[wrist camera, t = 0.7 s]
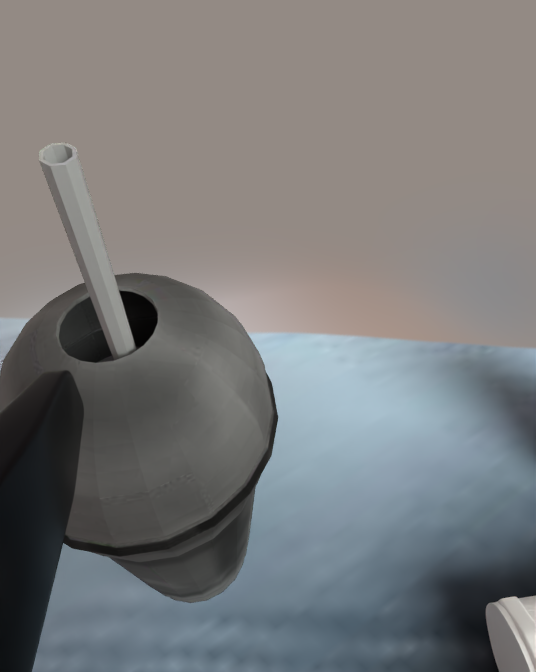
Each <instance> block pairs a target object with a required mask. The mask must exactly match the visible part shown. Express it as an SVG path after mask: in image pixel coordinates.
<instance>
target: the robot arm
mask: <svg viewBox="0 0 536 672" xmlns="http://www.w3.org/2000/svg"><path fill="white" fill-rule="evenodd" d="M83 420H84V405H83V401H82V398H81V396H80V393H79V391H78V388H77V385H76V383H75V380H74V377H73V375H72V374H71V372H70V371H68V370H56V371H46V372H44V373H42V374H41V375H40V376H39V377H38V378H37V379H36V380H34V381H33V382H32V383H31V384H30V385H29V386H28V387H27V388H26V389H25V390H24V391H23V392H22V393H20V394H19V395H18V396H17V397H16V398H15V399H14V400H13V401H12V402H11V403H10V404H9V405H8V406H6V407H5V408H4V409H3V410H2V411H1V412H0V672H32V669H33V665H34V661H35V657H36V652H37V648H38V644H39V640H40V636H41V632H42V628H43V624H44V619H45V615H46V611H47V607H48V603H49V599H50V595H51V591H52V586H53V582H54V578H55V574H56V570H57V566H58V562H59V557H60V553H61V549H62V545H63V541H64V537H65V533H66V529H67V524H68V520H69V516H70V512H71V508H72V503H73V498H74V493H75V486H76V479H77V470H78V462H79V453H80V445H81V437H82V428H83Z"/></svg>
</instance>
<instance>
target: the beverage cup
mask: <svg viewBox="0 0 536 672" xmlns="http://www.w3.org/2000/svg"><path fill="white" fill-rule="evenodd" d="M39 161H40V164H41V167H42V169H43V172H44V175H45V177H46V180H47V182H48V185H49V188H50V191H51V193H52V196H53V199H54V201H55V204H56V207H57V209H58V212H59V214H60V217H61V220H62V223H63V225H64V228H65V231H66V233H67V236H68V239H69V241H70V244H71V247H72V249H73V252H74V255H75V257H76V260H77V263H78V265H79V268H80V271H81V273H82V276H83V279H84V281H85V283H83V284H79V285H77V286H75V287H74V288H72V289H70V290H68V291H67V292H65V293H63V294H62V295H60V296H58V297H56V298H55V299H53V300H52V301H50V302H49V303H47V305H45V306H44V307H43V308H42V309H41V310H40V311H39V312H38V313H37V314H36V315H35V316H34V317H33V318H31V319H30V320H29V321H28V322H27V323H26V325H25V326H24V328H23V329H22V331H21V333H20V334H19V336H18V338H17V339H16V341H15V342H14V344H13V346H12V347H11V349H10V351H9V352H8V354H7V356H6V357H5V359H4V360H3V365H2V369H1V373H0V412H1V411H2V410H3V409H4V408H5V407H6V406H8V405H9V404H10V403H11V402H12V401H13V400H14V399H15V398H16V397H17V396H18V395H19V394H20V393H22V392H23V391H24V390H25V389H26V388H27V387H28V386H29V385H30V384H31V383H32V382H33V381H34V380H36V379H37V378H38V377H39V376H40V375H41V374H42V373H44V372H46V371H56V370H68V371H70V372H71V374H72V375H73V377H74V380H75V383H76V385H77V388H78V391H79V393H80V396H81V398H82V401H83V405H84V420H83V428H82V437H81V445H80V453H79V462H78V470H77V479H76V486H75V493H74V498H73V503H72V508H71V512H70V516H69V520H68V524H67V529H66V533H65V537H64V541H63V543H64V544H66V545H68V546H69V547H71V548H73V549H78V550H84V551H89V552H93V553H96V554H99V555H102V556H107V557H110V558H111V559H112V560H114V561H115V562H117V563H118V564H119V565H121V566H122V567H124V568H125V569H126V570H128V571H129V572H131V573H132V574H133V575H135V576H136V577H138V578H139V579H140V580H142V581H143V582H145V583H146V584H147V585H149V586H150V587H152V588H153V589H155V590H157V591H158V592H160V593H162V594H163V595H165V596H168V597H170V598H172V599H174V600H177V601H183V602H188V603H193V602H199V601H205V600H209V599H210V598H212V597H214V596H216V595H218V594H220V593H222V592H223V591H224V590H225V589H226V588H227V587H228V586H229V585H230V584H231V583H232V582H233V581H234V580H235V578H236V576H237V575H238V573H239V571H240V569H241V567H242V565H243V561H244V557H245V555H246V550H247V545H248V540H249V533H250V526H251V518H252V510H253V502H254V494H255V487H256V484H257V483H258V481H259V478H260V476H261V474H262V472H263V470H264V468H265V466H266V464H267V463H268V461H269V459H270V457H271V455H272V449H273V444H274V438H275V432H276V427H277V421H278V414H277V409H276V404H275V398H274V393H273V387H272V383H271V381H270V379H269V377H268V375H267V373H266V371H265V366H264V363H263V361H262V358H261V356H260V354H259V352H258V350H257V349H256V347H255V345H254V344H253V342H252V340H251V339H250V337H249V335H248V334H247V332H246V331H245V329H244V327H243V326H242V325H241V323H240V322H239V321H238V319H237V318H236V317H235V316H234V315H233V314H232V313H230V312H229V311H228V310H227V309H225V308H224V307H223V306H222V305H220V304H219V303H218V302H216V301H215V300H214V299H213V298H211V297H210V296H209V295H208V294H206V293H205V292H204V291H202V290H200V289H197V288H195V287H192V286H189V285H187V284H184V283H182V282H179V281H176V280H174V279H171V278H169V277H166V276H158V275H148V274H139V273H130V274H122V275H114V273H113V270H112V266H111V263H110V259H109V256H108V253H107V249H106V246H105V243H104V239H103V236H102V233H101V230H100V226H99V223H98V219H97V216H96V213H95V210H94V206H93V203H92V199H91V196H90V193H89V189H88V186H87V183H86V180H85V176H84V173H83V169H82V166H81V163H80V159H79V156H78V153H77V149H76V148H75V147H73V146H71V145H69V144H67V143H54V144H49V145H48V146H46V147H45V148H44V149H42V150H40V152H39Z"/></svg>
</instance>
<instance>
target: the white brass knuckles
mask: <svg viewBox="0 0 536 672" xmlns="http://www.w3.org/2000/svg"><path fill="white" fill-rule="evenodd" d="M486 622H487V627H488V633H489V638H490V642H491V646H492V650H493V654H494V657H495V661H496V664H497V667H498V670H499V672H536V596H530V597H524V598H517V597H515V596H514V597H508V598H502V599H500V600H499V601H497V602H493V603H489V604H488V605H487V607H486Z"/></svg>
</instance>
